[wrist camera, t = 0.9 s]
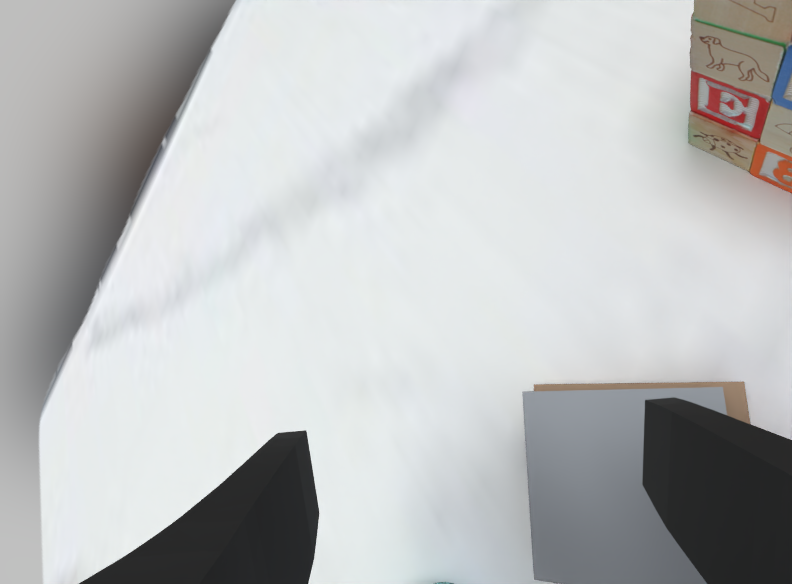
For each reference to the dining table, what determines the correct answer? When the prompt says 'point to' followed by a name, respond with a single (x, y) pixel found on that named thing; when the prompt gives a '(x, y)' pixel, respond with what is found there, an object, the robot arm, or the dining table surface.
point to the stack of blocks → (743, 85)
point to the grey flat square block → (599, 488)
